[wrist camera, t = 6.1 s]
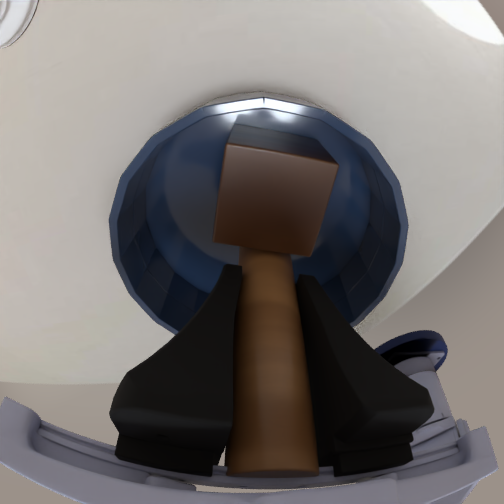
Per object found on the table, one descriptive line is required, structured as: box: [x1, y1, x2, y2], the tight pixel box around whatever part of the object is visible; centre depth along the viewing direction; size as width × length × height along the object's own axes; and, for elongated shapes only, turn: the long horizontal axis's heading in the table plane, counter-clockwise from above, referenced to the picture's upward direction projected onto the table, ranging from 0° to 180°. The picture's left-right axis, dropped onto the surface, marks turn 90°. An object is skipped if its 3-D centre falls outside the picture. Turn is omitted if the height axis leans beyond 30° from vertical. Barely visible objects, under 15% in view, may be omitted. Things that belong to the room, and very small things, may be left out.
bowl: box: [109, 91, 408, 335], centre depth 14 cm, size 13×13×4 cm
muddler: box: [224, 247, 319, 478], centre depth 10 cm, size 2×2×11 cm
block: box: [212, 124, 339, 257], centre depth 12 cm, size 4×4×4 cm
